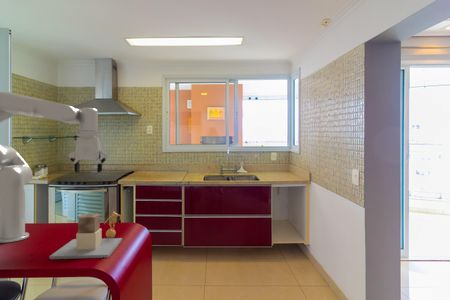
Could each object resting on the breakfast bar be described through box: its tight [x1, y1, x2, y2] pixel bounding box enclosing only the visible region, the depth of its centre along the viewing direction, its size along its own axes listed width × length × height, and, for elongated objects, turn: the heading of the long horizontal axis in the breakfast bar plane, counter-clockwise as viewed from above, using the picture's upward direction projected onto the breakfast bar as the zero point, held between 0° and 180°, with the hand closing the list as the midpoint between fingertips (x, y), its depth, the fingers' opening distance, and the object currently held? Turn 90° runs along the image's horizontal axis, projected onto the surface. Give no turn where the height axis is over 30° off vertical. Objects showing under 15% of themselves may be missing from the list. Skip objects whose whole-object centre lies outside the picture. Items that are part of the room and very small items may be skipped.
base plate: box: [49, 227, 123, 260], centre depth 114 cm, size 20×20×7 cm
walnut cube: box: [77, 213, 101, 233], centre depth 114 cm, size 6×6×6 cm
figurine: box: [104, 210, 122, 238], centre depth 127 cm, size 8×6×12 cm
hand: (88, 172), depth 134 cm, fingers open, 9 cm apart
